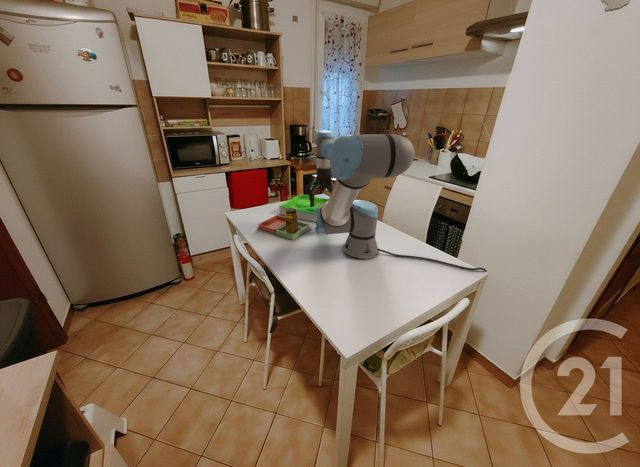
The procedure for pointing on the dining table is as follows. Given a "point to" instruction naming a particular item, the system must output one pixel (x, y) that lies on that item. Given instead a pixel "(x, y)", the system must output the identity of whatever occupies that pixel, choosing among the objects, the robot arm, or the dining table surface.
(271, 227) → the terracotta tray
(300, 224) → the green tray
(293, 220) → the condiment
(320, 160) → the robot arm
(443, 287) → the dining table surface
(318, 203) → the tray
